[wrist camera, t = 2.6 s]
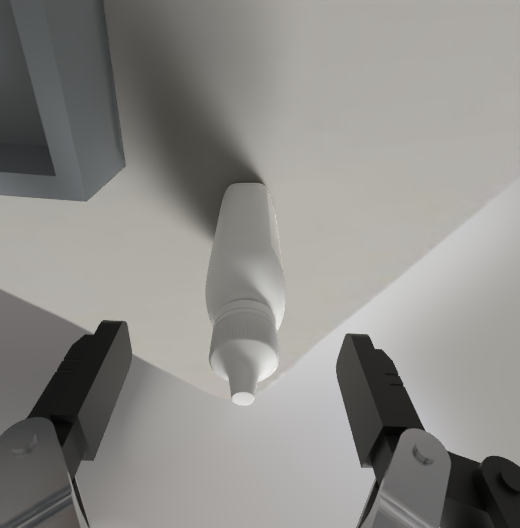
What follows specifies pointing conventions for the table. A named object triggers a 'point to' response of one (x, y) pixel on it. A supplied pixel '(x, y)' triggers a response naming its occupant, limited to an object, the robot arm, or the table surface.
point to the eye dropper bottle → (245, 290)
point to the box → (56, 100)
